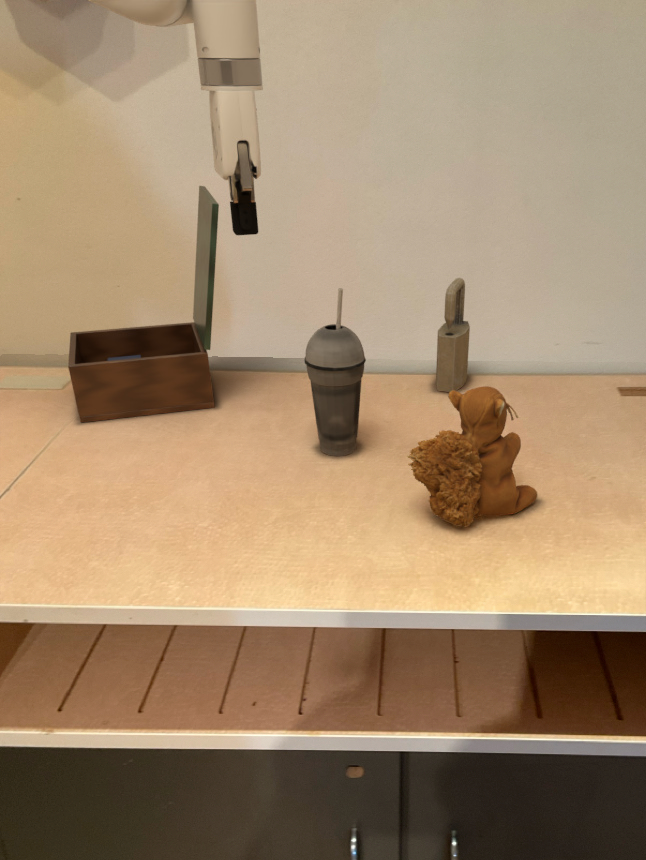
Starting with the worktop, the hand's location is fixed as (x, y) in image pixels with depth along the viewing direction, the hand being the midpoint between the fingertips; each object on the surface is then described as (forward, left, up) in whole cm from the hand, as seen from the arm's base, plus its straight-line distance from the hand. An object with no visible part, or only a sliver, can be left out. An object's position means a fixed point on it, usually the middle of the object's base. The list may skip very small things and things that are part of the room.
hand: (245, 233), depth 107 cm
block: (-18, 0, -21) cm, 28 cm away
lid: (-6, 0, -4) cm, 7 cm away
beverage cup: (+6, -25, -22) cm, 34 cm away
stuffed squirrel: (+16, -44, -22) cm, 51 cm away
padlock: (+28, -8, -22) cm, 36 cm away
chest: (-16, 0, -21) cm, 27 cm away
